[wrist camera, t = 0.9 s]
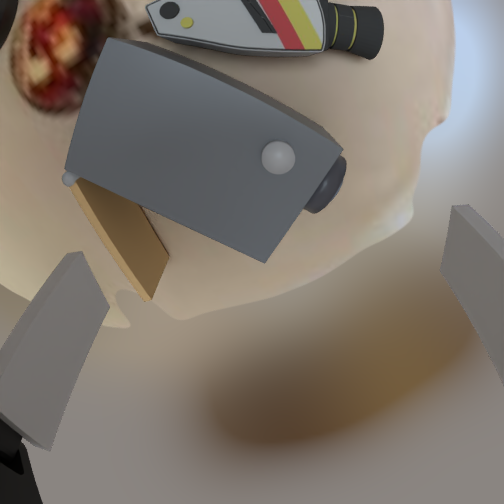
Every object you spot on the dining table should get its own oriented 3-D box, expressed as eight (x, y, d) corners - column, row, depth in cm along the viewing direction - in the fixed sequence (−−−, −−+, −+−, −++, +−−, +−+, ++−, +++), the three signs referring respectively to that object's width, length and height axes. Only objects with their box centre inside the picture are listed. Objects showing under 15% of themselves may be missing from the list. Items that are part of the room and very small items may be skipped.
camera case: (106, 143, 31) (58, 174, 22) (147, 42, 25) (102, 36, 16) (283, 228, 36) (289, 283, 28) (343, 140, 30) (373, 171, 22)
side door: (95, 152, 31) (55, 179, 24) (108, 144, 31) (69, 169, 24) (158, 260, 39) (138, 304, 32) (171, 255, 38) (152, 300, 31)
